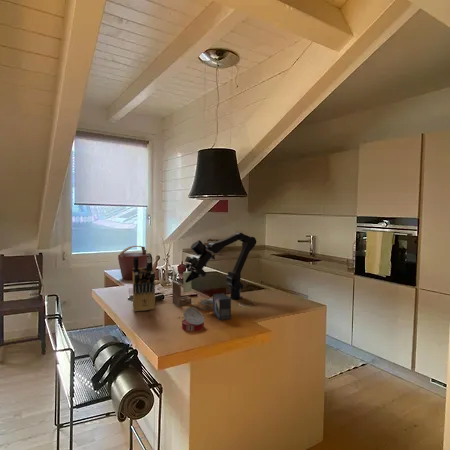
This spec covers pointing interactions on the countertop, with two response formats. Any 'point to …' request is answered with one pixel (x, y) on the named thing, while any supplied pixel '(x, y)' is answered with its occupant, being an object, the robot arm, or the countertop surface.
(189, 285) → the green board
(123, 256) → the bucket
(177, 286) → the walnut rack
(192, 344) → the countertop surface
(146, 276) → the knife block
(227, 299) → the small box
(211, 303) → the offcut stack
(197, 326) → the canned food
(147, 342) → the countertop surface
